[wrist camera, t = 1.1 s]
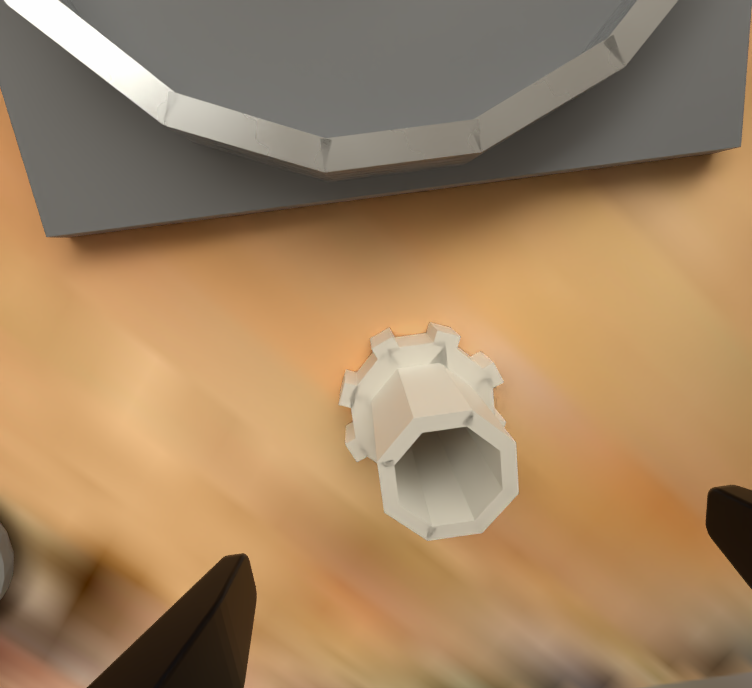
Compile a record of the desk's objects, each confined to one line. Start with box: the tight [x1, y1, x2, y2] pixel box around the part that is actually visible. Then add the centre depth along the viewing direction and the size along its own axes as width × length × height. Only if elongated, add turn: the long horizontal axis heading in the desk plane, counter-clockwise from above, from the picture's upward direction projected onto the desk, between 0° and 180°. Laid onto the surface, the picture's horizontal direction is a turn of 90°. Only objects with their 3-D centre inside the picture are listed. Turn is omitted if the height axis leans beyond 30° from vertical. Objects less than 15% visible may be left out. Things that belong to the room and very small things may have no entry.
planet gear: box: [339, 322, 519, 541], centre depth 13 cm, size 6×6×6 cm
